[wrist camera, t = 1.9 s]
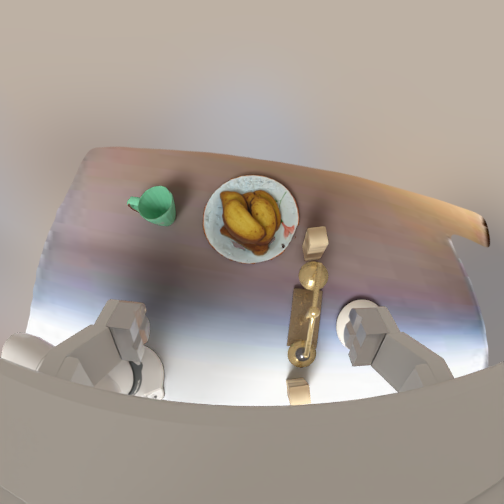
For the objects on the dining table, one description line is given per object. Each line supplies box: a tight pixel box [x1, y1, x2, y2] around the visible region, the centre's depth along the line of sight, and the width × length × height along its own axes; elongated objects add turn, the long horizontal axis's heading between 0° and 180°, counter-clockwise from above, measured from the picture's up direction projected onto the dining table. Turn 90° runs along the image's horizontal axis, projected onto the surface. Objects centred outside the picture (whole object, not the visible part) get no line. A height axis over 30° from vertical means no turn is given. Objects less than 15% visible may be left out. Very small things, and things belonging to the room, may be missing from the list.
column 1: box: [286, 378, 311, 405], centre depth 56 cm, size 4×4×12 cm
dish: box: [336, 300, 378, 349], centre depth 65 cm, size 13×13×2 cm
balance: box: [287, 261, 328, 368], centre depth 58 cm, size 24×7×19 cm, turn 172°
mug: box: [127, 186, 176, 226], centre depth 74 cm, size 15×10×10 cm
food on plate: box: [203, 175, 299, 264], centre depth 73 cm, size 25×25×7 cm
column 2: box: [302, 226, 328, 261], centre depth 67 cm, size 4×4×12 cm
